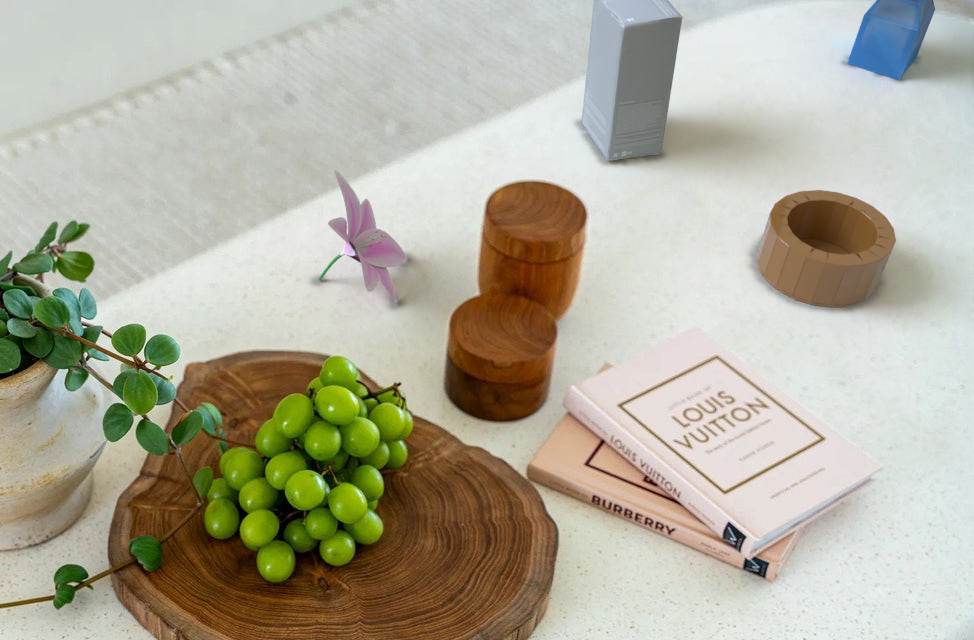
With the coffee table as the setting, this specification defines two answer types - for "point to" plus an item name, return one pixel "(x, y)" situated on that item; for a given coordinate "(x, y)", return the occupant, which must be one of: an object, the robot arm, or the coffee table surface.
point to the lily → (366, 241)
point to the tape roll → (825, 248)
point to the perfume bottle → (891, 36)
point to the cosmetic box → (630, 75)
